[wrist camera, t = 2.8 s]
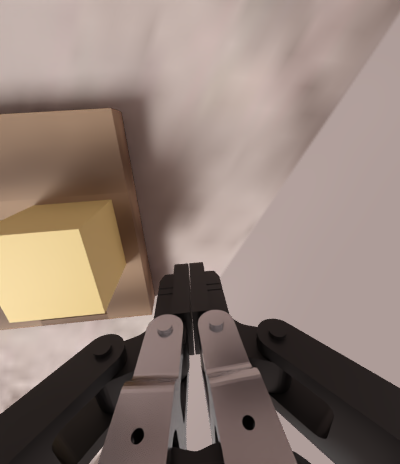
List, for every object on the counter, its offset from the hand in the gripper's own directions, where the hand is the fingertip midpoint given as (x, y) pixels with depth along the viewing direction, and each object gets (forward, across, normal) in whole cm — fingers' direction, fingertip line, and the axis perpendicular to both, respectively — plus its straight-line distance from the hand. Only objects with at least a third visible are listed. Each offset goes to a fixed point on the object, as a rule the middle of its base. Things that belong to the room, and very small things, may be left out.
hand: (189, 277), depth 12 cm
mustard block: (+6, +8, 0) cm, 10 cm away
